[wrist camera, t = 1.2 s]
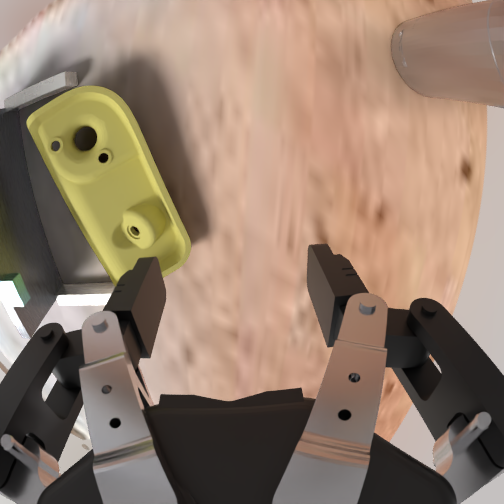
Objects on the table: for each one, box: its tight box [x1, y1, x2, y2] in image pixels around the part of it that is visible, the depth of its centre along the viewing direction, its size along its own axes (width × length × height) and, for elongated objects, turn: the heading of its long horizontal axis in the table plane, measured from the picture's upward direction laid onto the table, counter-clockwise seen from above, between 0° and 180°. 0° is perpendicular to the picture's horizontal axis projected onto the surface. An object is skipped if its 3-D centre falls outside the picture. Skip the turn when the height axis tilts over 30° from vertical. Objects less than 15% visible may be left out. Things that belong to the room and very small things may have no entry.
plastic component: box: [27, 86, 191, 286], centre depth 25 cm, size 20×7×10 cm
